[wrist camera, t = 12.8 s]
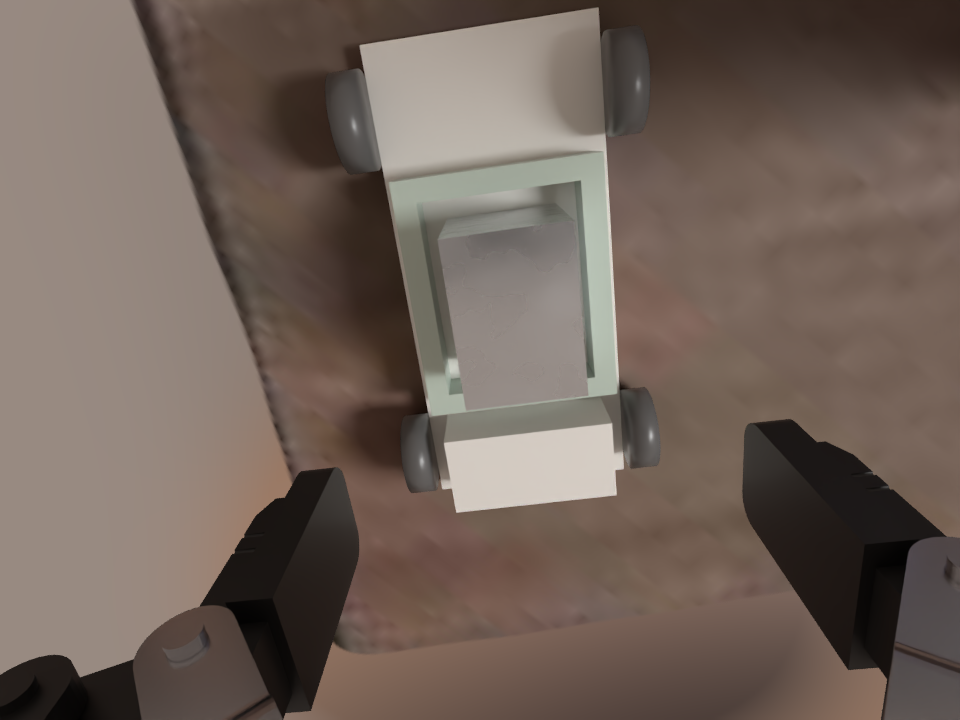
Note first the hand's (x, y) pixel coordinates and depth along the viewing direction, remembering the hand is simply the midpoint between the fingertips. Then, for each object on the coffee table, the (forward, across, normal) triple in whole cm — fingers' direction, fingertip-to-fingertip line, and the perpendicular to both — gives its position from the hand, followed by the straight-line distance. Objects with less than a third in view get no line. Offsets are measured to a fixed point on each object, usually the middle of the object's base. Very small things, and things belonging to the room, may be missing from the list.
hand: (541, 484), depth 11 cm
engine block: (+17, 0, 0) cm, 17 cm away
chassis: (+18, 0, 0) cm, 18 cm away
